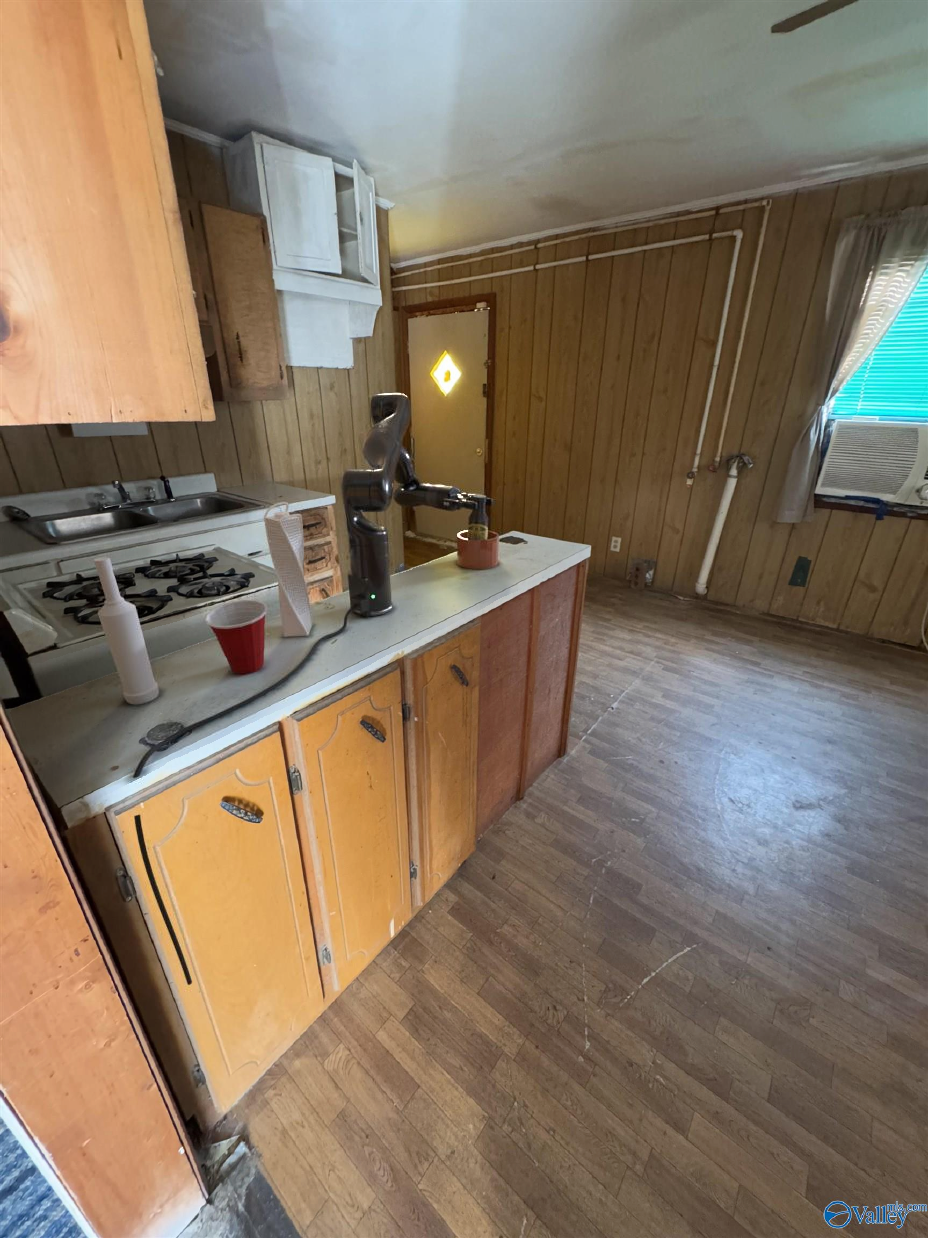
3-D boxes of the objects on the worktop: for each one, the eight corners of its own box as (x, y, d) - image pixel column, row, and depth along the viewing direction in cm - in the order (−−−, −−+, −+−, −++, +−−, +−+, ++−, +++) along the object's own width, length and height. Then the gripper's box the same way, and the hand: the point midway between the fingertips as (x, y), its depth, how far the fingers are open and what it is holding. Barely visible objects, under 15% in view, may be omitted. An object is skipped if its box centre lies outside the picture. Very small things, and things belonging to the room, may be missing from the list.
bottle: (123, 708, 84) (77, 565, 74) (128, 692, 89) (85, 556, 78) (158, 701, 86) (118, 561, 76) (161, 686, 90) (124, 552, 80)
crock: (480, 572, 150) (481, 542, 146) (449, 563, 157) (448, 535, 154) (506, 562, 159) (507, 534, 155) (474, 554, 166) (475, 527, 163)
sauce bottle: (464, 562, 155) (465, 497, 147) (468, 556, 161) (468, 493, 153) (485, 563, 154) (487, 498, 146) (488, 557, 160) (490, 494, 152)
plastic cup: (203, 677, 94) (189, 618, 89) (242, 651, 103) (231, 596, 98) (252, 686, 91) (240, 626, 86) (288, 658, 100) (279, 603, 95)
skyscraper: (285, 623, 115) (267, 501, 104) (318, 622, 116) (303, 500, 105) (277, 639, 108) (256, 509, 97) (313, 637, 109) (296, 508, 97)
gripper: (427, 488, 152) (469, 494, 143) (458, 482, 162) (499, 488, 153) (427, 512, 155) (469, 521, 146) (458, 505, 165) (498, 513, 156)
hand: (484, 504), depth 149 cm, fingers open, 7 cm apart
